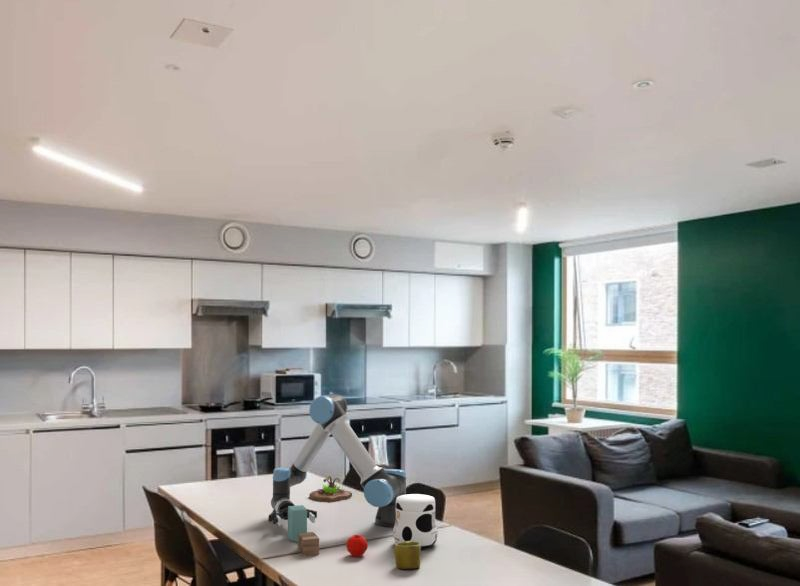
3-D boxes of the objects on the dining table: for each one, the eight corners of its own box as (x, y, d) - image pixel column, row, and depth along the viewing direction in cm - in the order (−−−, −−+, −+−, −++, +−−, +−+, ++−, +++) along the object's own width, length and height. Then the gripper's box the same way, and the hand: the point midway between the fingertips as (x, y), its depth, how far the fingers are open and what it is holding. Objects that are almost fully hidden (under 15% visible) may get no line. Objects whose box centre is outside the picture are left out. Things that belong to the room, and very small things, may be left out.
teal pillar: (306, 540, 280) (307, 509, 281) (291, 541, 278) (292, 510, 278) (302, 534, 287) (302, 505, 288) (287, 536, 285) (288, 506, 286)
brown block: (319, 554, 262) (319, 538, 262) (303, 556, 260) (303, 539, 260) (313, 547, 270) (313, 531, 271) (297, 549, 268) (297, 533, 268)
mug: (422, 567, 242) (415, 537, 245) (394, 575, 243) (387, 545, 246) (430, 564, 253) (422, 535, 256) (403, 571, 255) (396, 542, 258)
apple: (347, 552, 265) (347, 532, 265) (368, 552, 265) (368, 532, 265) (345, 558, 257) (345, 538, 257) (366, 559, 257) (366, 538, 257)
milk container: (386, 541, 280) (387, 495, 281) (426, 537, 286) (426, 492, 287) (403, 553, 264) (403, 504, 265) (444, 548, 270) (444, 501, 271)
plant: (302, 498, 354) (302, 476, 355) (327, 492, 371) (327, 470, 371) (333, 504, 343) (333, 481, 344) (357, 497, 360) (357, 474, 360)
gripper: (314, 515, 306) (327, 527, 287) (256, 520, 297) (266, 533, 278) (314, 498, 307) (327, 509, 287) (256, 502, 298) (266, 514, 278)
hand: (297, 521), depth 282 cm, fingers open, 13 cm apart
